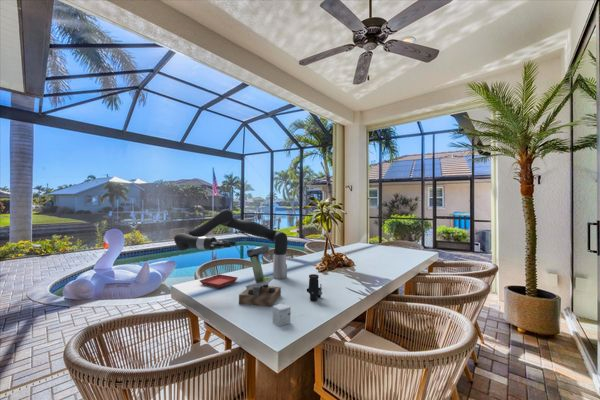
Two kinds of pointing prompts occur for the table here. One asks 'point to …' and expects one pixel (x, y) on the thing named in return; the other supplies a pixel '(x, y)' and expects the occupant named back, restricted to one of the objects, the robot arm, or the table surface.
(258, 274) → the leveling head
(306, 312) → the table surface
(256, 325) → the table surface
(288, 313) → the skincare box
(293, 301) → the table surface
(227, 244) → the robot arm
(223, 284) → the plant saucer
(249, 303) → the wooden block with holes
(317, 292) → the scope
